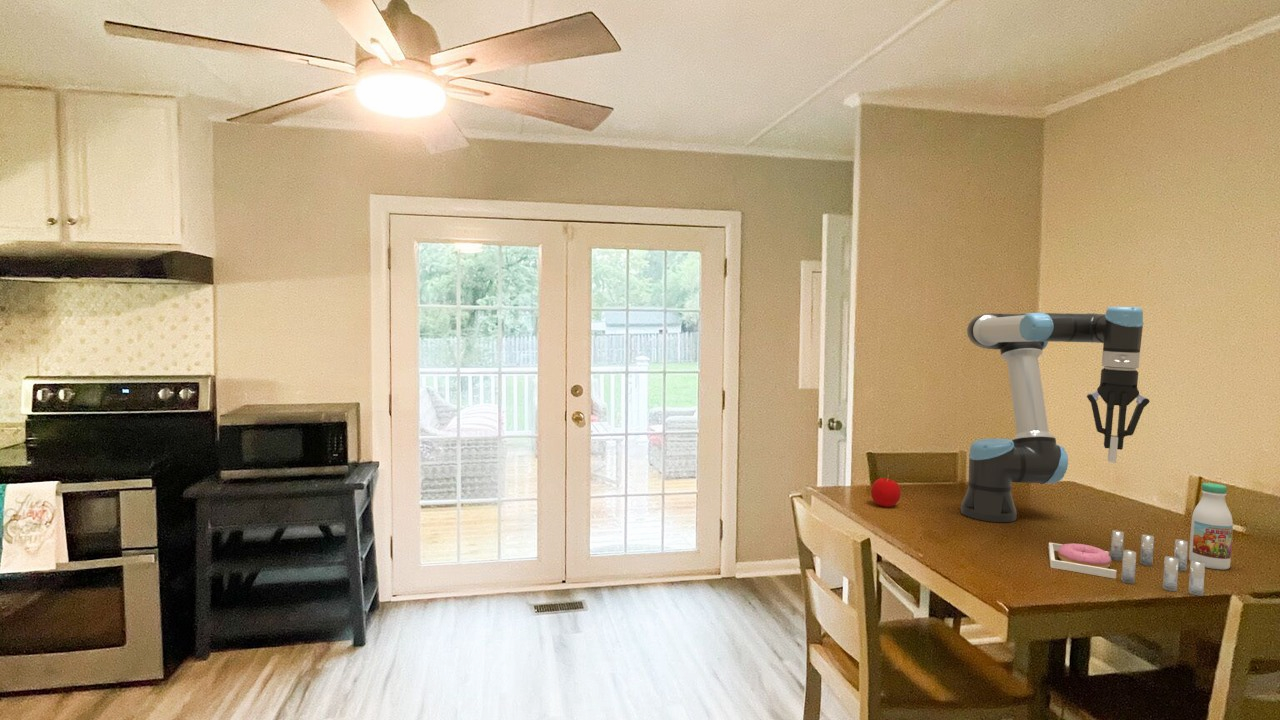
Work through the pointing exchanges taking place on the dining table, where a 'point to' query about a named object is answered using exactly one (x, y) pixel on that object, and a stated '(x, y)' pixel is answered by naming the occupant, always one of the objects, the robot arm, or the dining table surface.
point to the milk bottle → (1212, 529)
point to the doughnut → (1084, 555)
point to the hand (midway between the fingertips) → (1111, 461)
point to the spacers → (1169, 563)
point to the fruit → (885, 492)
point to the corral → (1078, 565)
